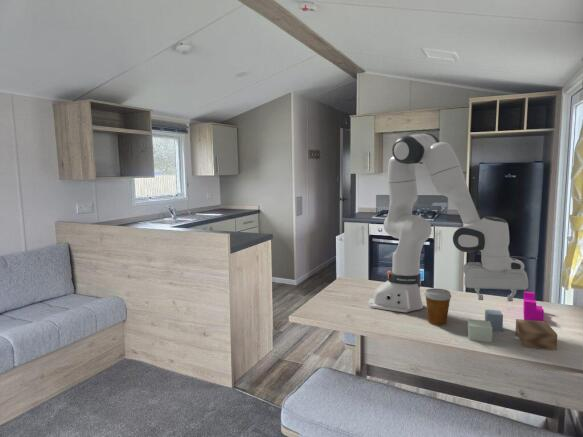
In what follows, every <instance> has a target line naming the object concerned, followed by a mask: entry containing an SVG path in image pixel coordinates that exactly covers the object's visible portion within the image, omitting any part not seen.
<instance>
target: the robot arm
mask: <svg viewBox="0 0 583 437" xmlns="http://www.w3.org/2000/svg"><path fill="white" fill-rule="evenodd" d="M391 153H392V156H391V157H390V158H389V160H388V163H387V164H388V165H387V184H388V194H389V205H388V212H387V216H386V217H385V219H384V221H383V229H384V231H385V233H387V235H389V236H390V237H392V238H394V239H398V244H397V247H396V249H395V251H393V253H392V259H391V260H392V266H391V267H392V269H391V270H392V271H391V270H388V271H387V272H386V276H387V277H386V280H385V282H383V283H381V284H379V286H377V287H376V288H375V290H374V292H373V294H374V295H373V296H372V297H370V298H369V300H368V306H369V308H372V309H378V310H385V311H393V312H399V313H409V312H414V311H419V310H421V309H423V308H424V304H423V301H422V300H423V299H422V296H421V294H422V293H421V285H422V276H421V273H420V267H421V253H422V249H423V247H424V244H425V242H426V241H427V240H429V238H430V237H431V234H432V225H431V223H430V221H429V220H428V219H426V218H424V217H422V216H421V215H416V214H413V208H414V205H415V202H417V200H418V188H417V187H418V186H417V177H416V168H417V166H418V165H419V164H424V165H425V166H426V167H427V170H428V172H429V176H430V180H431V182H432V184H433V186H434V188H435V190H436V191H437V193H439V194H440V195H441V196H444V197H446V198H448V199H449V200H450V201H452V202H453V204H454V205H455V207H456V209H457V212H458V214H459V215H460V220H461V221H462V226H460V227H459V228H458V229H456V230H455V231H454V232H453V235H452V242H453V243H452V244H453V245H454V247H455V248H456V249H457V250H459V251H460V252H462V253H474V252H475V253H476V252H481V254H480V255H481V257H480V258H481V259H480V260H481V262H480V261H476V262H473V261H469V262H466V263H464V265H463V268H462V269H463V270H462V271H463V273H464V281H463V283H464V286H465V287H466V288H467V289H474V291H475V293H476V294H477V297H478V301H484V295H483V294H482V293H481V294H480V290H481V289H487V290H488V289H489V290H491V289H493V290H510V291H511V293H510V294H508V295H507V296H506V297H507V298H506V299H507V300H506V301H507V302H512V303H513V302H514V297H515V295H516V294H517V291H519V290H520V291H522V290H523V291H526V290H527V289H528V288H529V279H528V274H527V272H526V270H525V263H524V262H523V261H521V260H519V259H517V258H513V257H510V251H509V245H510V230H509V229H510V228H509V223H508V222H507V220H505V219H504V218H502V217H498V216H490V215H489V216H483V218H482V217H481V216H480V214H479V210H478V209H477V207H476V204H475V202H474V200H473V198H472V194H471V193H470V190H469V186H468V184H467V181H466V178H465V175H464V170H463V168H462V166H461V162H460V161H459V158H458V156H457V154H456V152H455V150H454V149H453V147H452V146H451V144H450V143H448V142H446V141H445V142H444V141H440V139H439V138H438V137H437V136H436V135H434V134H431V133H415V134H411V135H404V136H401V137H400V138H398V139H396V140H395V142H394V143H393V145H392V148H391Z"/></svg>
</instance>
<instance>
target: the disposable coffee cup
mask: <svg viewBox="0 0 583 437" xmlns="http://www.w3.org/2000/svg"><path fill="white" fill-rule="evenodd" d="M424 296H425V301H426V311H427V319H428V323H429V324H431V325H434V326H446V325H447V322H448V321H447V320H448V315H449V308H450V303H451V302H450V301H451V299H452V294H451V292H450V290H447V289H444V288H433V287H432V288H427V289H425V293H424Z"/></svg>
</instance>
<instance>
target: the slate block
mask: <svg viewBox="0 0 583 437" xmlns="http://www.w3.org/2000/svg"><path fill="white" fill-rule="evenodd" d="M484 321H490V323H491V326H492V332H503V329H504V327H503V326H504V315H503V313H502V311H501V310H495V309H485V310H484Z"/></svg>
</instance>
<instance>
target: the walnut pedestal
mask: <svg viewBox="0 0 583 437" xmlns="http://www.w3.org/2000/svg"><path fill="white" fill-rule="evenodd" d="M515 335H516V336H517V338H518V339H519V341H520V343H521V344H522V346H523V347H525V348H530V349H531V348H532V349H533V348H534V349H543V350H553V351H557V350H558V348H557V346H558V334H557V332H556V331H555V330H554V329H553V328H552V327H551V325H550V324H549V323H548V322H547V321H545V320H543V321H534V320H524V319H519V318H516V319H515Z"/></svg>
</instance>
